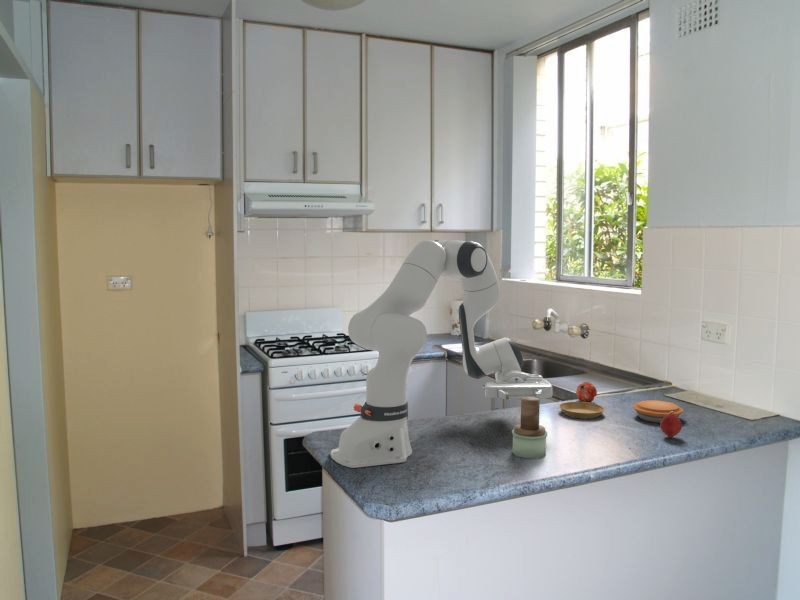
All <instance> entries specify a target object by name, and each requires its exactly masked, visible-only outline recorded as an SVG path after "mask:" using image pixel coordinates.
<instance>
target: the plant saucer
mask: <svg viewBox="0 0 800 600" xmlns="http://www.w3.org/2000/svg"><path fill="white" fill-rule="evenodd" d="M558 407H559V409H560V410H561V411H562V412H563V413H564V414H565V415H566V416H569V417H571V418H575V419H595V418H598V417H599V416H601V415H602V414H603V413H604V411H606V408H605V407H604V406H602V405H600V404H597V403H593V402H592V403H591V402H590V403H587V402H583V401H567V402H562V403H560V404H559V406H558Z"/></svg>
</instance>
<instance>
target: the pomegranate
mask: <svg viewBox="0 0 800 600" xmlns="http://www.w3.org/2000/svg"><path fill="white" fill-rule="evenodd" d="M597 391H598V390H597V388H596V386H595V385H593V383H592V382H589V381H584V382H582V383H579V384H578V385H577V388H576V391H575V395H576V397H577V399H578V400H579V402H586V403H591V402H592V403H593V401H594V399H595V397H597V396H598V395H597V394H598V392H597Z"/></svg>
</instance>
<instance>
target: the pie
mask: <svg viewBox="0 0 800 600" xmlns="http://www.w3.org/2000/svg"><path fill="white" fill-rule="evenodd" d="M632 408H633V410H634V411H636V413H637V415H638V418H640V419H641V420H643V421H646V422H650V423H658V424H660V423H661V420H662V419H663V418H664V417H665V416H666V415H668V414H669V413H670V412H671V411H673V412H674V415H675V416H677V417H678V418H680V415H682V414H683V413H684V408H682V407H680V406H679V405H677V404H675V403H673V402H669V401H663V400H657V399H655V400H654V399H651V400H650V399H648V400H641V401H639V402H635V403H634V404H633V405H632Z"/></svg>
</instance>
